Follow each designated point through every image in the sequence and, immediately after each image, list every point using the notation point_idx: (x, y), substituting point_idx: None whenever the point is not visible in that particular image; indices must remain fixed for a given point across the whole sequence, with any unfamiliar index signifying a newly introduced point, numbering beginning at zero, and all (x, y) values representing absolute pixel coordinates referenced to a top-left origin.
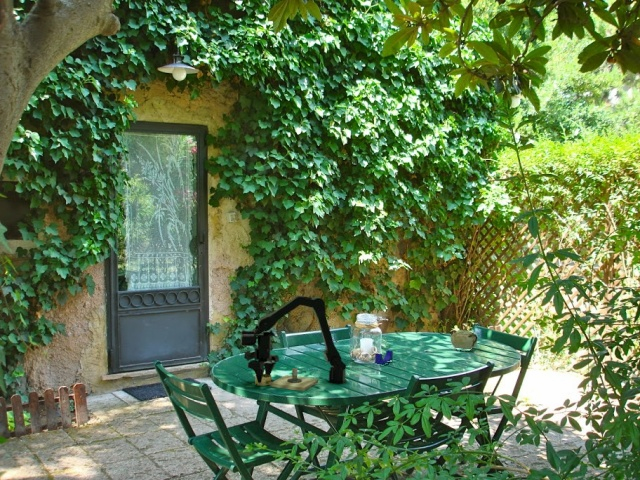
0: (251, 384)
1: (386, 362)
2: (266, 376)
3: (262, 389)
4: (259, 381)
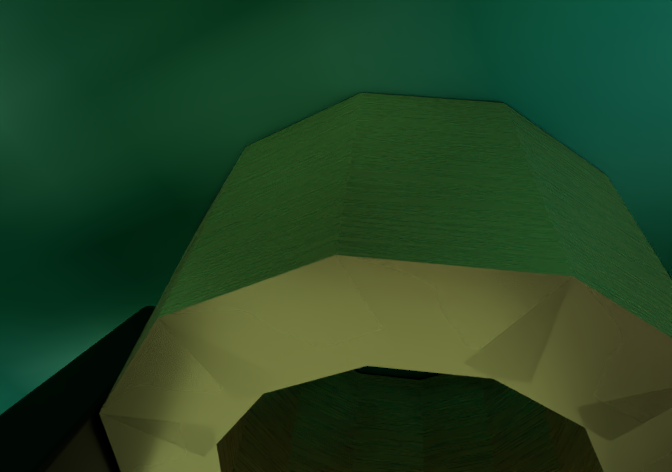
0: (154, 54)
1: None
2: (568, 470)
3: (2, 394)
4: None
